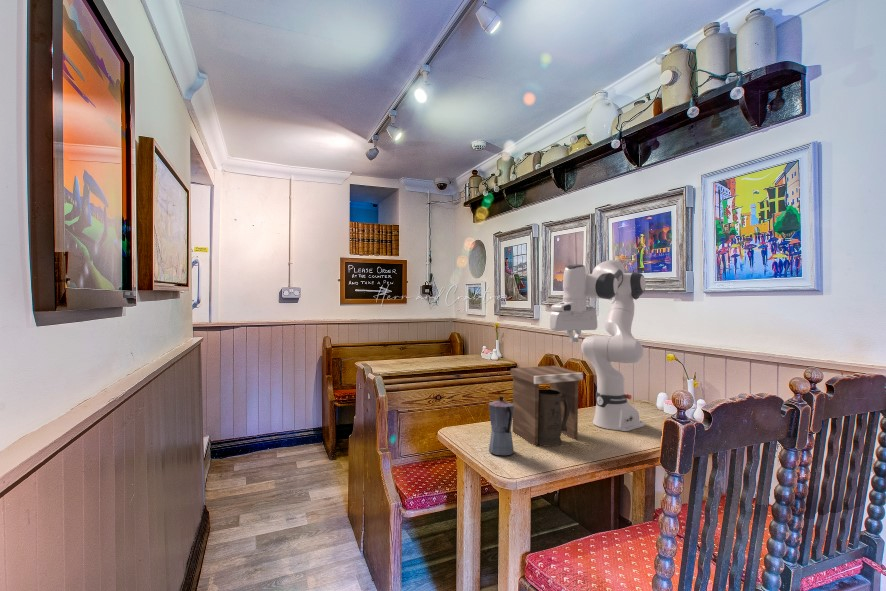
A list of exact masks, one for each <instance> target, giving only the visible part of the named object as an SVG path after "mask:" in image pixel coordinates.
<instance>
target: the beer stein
mask: <svg viewBox="0 0 886 591" xmlns="http://www.w3.org/2000/svg"><path fill="white" fill-rule="evenodd" d="M561 401H563V402H564V415H563V420H562V423H561V405H560V404H561ZM569 413H570V406H569V402H568V395H567V394H563V396H561V395H560V392H558V391H555V390H550V388H549V389H548V388H545V389H544V388H540V389H539V400H538V445H540V444H541V445H540V446H544V445H545V447H555V446H556V445H557V446H559V444H560V445H561V443H562V438H561V436H562V433H561V431H565V432H566V431H567V427H566V422H567V419H568V417H569ZM557 446H556V447H557Z"/></svg>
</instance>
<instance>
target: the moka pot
mask: <svg viewBox="0 0 886 591" xmlns="http://www.w3.org/2000/svg"><path fill="white" fill-rule="evenodd" d="M498 399H499V400H494V401H489V403H488V409H489V419H490V420H489V421H490V426H491V427H490V428H491V431H490V432H491V433H490V439H489V440H490V441H489V447H488V451H489V452H490V453H491V454H493V455H497V456H511V455H512V454H514V451H515V450H514V444H513V435H512V434H513V433H512V427H513V408H514V405H513V402H508V401H504V396H498Z"/></svg>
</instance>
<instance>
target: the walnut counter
mask: <svg viewBox="0 0 886 591" xmlns="http://www.w3.org/2000/svg"><path fill="white" fill-rule="evenodd" d="M510 376H512V403H513V405H514V408H513V417H512V433H513V432H514V433H515V434H514V433H513V434H514V435H516V434H517V435H516V436H518V435H519V436H520V437H519V436H518V437H519V438H521V437H522V438H523V440H524V439H525V440H524V441H526V442H527V441H528V442H527V443H529V442H530V443H529V444H531V445H532V444H533V445H532V446H534V445H537V446H539V444H538V400H539V385H540V384H541V385H542V384H549V385H550V388H549V389H550V390H555V391H558V392H560V395H561V396H563V394H567V395H568V402H569V406H570V413H569V417H568V419H567V422H566V427H567V431H566V432H565V431H561V434H562V433H563V434H565V435H567V436H568V438H569V437H570V438H569V439H571V438H572V439H571V440H573V439H577V440H578V425H579V423H578V422H579V421H578V418H579V417H578V416H579V415H578V414H579V412H578V411H579V382H580V381H583V380H584V372H579V371H575V370H571V369H570V368H569V369H568V368H565V367H561V366H557V365H543V366H530V367H515V368H510ZM560 405H561V423H562V420H563V415H564V402H563V401H561V404H560ZM563 434H562V435H563ZM565 435H564V436H565ZM567 436H566V437H567ZM522 438H521V439H522Z"/></svg>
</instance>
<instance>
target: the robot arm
mask: <svg viewBox="0 0 886 591" xmlns="http://www.w3.org/2000/svg"><path fill="white" fill-rule="evenodd" d="M646 287H647V282H646V279H645V276H644V275H643V274H642V273H641V272H634V271H633V272H625V265H624V264H623V263H622V262H621V261H619V260H616V259H608V260H605V261H602V262H600V263H598V264H597V265H595V267H594V268H593V269H592V272H591V273H587V271H586V266H585V265H584V264H571V265H567V266H566V267H565V268H564V271H563V278H562V291H563V296H562V301H560V302H558V303H555V304H553V305H551V307H550V308H551V311H552V312H551V313H550V317H549V328H550V331H554V332H564V331H565V332H566V334H567V336H568V337H569V338H568V340H569V343H579V338H580V336H581V334H582V331H596V330H597V329H598V317H597V310H596V308H595V307H594V306H592V305H591V306H587V299H605V300H611V299H613V298H614V299H613V301H612V303H611V305H610V307H609V309H608V312H607V314H606V318H605V322H604V329H605V331H606V332H607V333H608V334H609V335H610V336H606V335H590V336H586V337H585V338H584V339H583V340H582V342H581V346H580V348H581V353H582V354H583V356H584V357H585V358H586V359H588V361H589V362H590V363H591V365H592V366H593V369H594V371H595V373H596V383H597V384H596V387H597V388H596V392H595V401H596V404H595V410H594V417H593V420H592V423H593V425H595V426H597V427H599V428H603V429H607V430H613V431H615V430H616V431H621V432H629V431H633V430H636V429H640V428H643V427H645V426H646V423H645V422H644V421H643V420H640V413H639V411H638V410H637V408H635V407H634V406H632V405H631V404H630V403H629V402H628V400H632V394H628V393H626V394H625V377H624V375H623V374H622V372H621V371H619V370H617V369H615V367H614V366H612V365H613V364H612V363H619V364H633V363H634V364H635V363H638V362H640V361H641V359H642V358H643V356H644V348H643V345H642V343H641V341H639V340H638V339H637V338H635V336H634V335H632V324H633V320H634V316H635V301H634V300H638V299H640V296H642V295H643V294H644V293H645V291H646ZM573 334H574V335H573ZM627 399H628V400H627Z"/></svg>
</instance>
